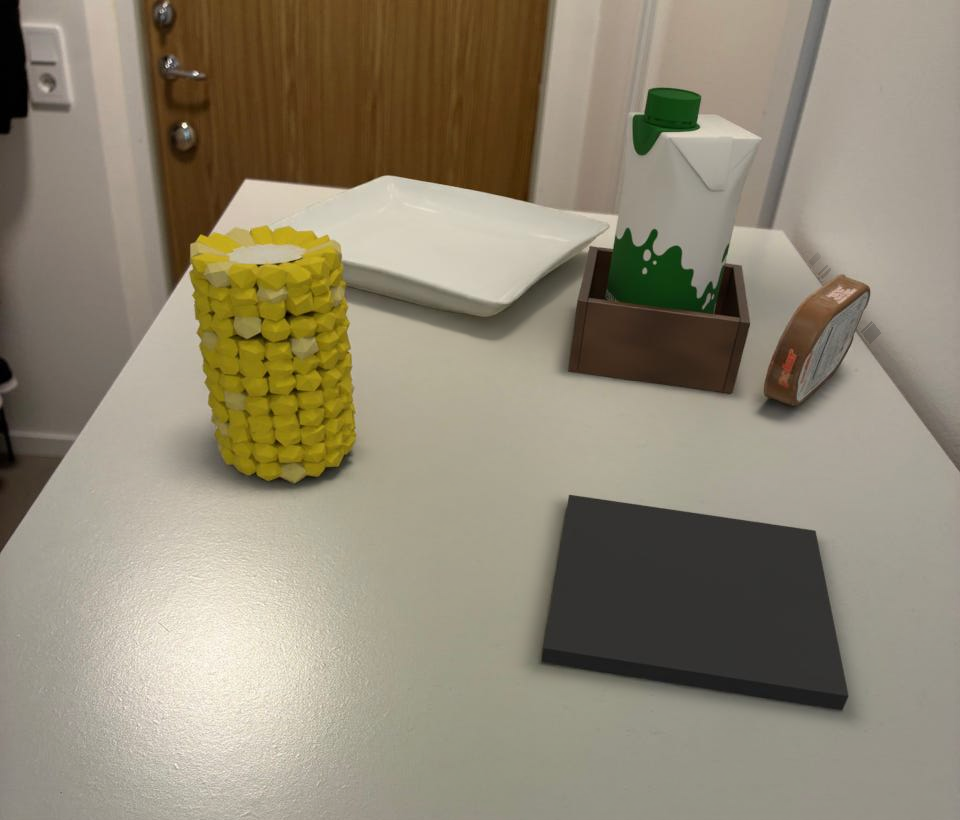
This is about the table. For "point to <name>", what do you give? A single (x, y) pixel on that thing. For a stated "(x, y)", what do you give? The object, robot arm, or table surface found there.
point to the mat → (694, 602)
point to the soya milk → (677, 203)
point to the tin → (816, 340)
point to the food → (275, 349)
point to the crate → (659, 334)
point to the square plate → (444, 242)
